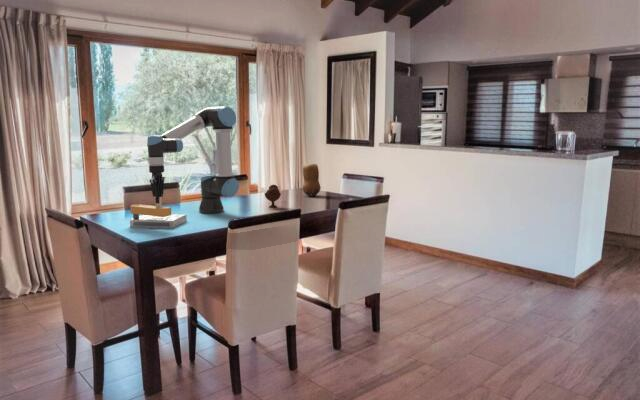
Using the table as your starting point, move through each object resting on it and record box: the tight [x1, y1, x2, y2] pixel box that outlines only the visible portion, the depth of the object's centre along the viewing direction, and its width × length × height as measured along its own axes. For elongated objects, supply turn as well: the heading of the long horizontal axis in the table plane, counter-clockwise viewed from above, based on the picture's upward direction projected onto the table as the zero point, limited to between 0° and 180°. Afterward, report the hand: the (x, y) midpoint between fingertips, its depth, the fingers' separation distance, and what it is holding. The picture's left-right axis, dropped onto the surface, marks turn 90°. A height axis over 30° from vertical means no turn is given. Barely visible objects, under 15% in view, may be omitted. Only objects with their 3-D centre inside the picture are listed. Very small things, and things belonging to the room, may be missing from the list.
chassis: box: [129, 213, 188, 229], centre depth 266 cm, size 18×24×7 cm
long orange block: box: [130, 204, 172, 217], centre depth 256 cm, size 6×24×4 cm, turn 65°
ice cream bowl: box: [264, 184, 282, 209], centre depth 318 cm, size 11×11×15 cm
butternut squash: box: [302, 163, 322, 197], centre depth 366 cm, size 14×13×25 cm
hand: (158, 209), depth 259 cm, fingers closed
